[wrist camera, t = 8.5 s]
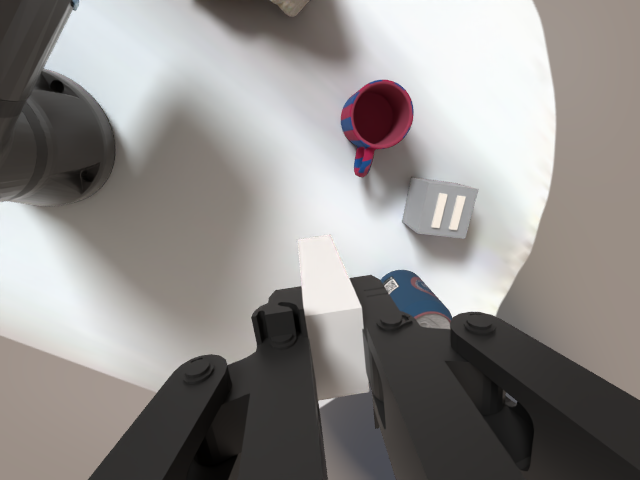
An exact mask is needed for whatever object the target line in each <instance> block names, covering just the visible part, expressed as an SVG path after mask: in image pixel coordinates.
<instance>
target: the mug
mask: <svg viewBox="0 0 640 480" xmlns="http://www.w3.org/2000/svg"><path fill="white" fill-rule="evenodd" d="M412 121H413V105H412V101H411V98H410V96H409V94H408V93H407V92H406V90H405V89H404V88H403V87H402V86H400V85H399V84H397V83H395V82H393V81H389V80H377V81H373V82H371V83H368V84H367V85H365V86H364V87H362V88H361V89H360V90H359V91H357V92H356V93H355V94H354V95H352V96H351V97H350V98H349V99H348V101H347V102H346V103H345V105H344V107H343V110H342V114H341V126H342V130H343V132H344V134H345V136H346V137H347V139H348V140H349V141H350V142H352V143H353V144H355V145H356V146H357V151H356V157H355V163H354V172H355V175H357V176H359V177H364V176H366V175H367V173H368V172H369V170H370V167H371V164H372V160H373V156H374V151H375V150H376V149H385V148H389V147H392V146H394V145H396V144H397V143H399V142H400V141H401V140H402V139H403V138H404V137H405V136H406V135H407V133H408V131H409V130H410V127H411V125H412Z"/></svg>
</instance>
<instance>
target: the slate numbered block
mask: <svg viewBox="0 0 640 480" xmlns="http://www.w3.org/2000/svg"><path fill="white" fill-rule="evenodd" d="M477 193H478V189H476V188H472V187H468V186H465V185H461V184H457V183H452V182H444V181H437V180H429V179H422V178H414V177H411V181H410V185H409V190H408V195H407V200H406V205H405V209H404V214H403V219H402V222H403V223H404V224H406V225H407V226H408V227H410V228H411V229H412V230H414V231H415V232H416V233H418V234H427V235H436V236H445V237H454V238H463V239H465V238H466V234H467V230H468V227H469V223H470V219H471V215H472V212H473V208H474V204H475V201H476V197H477Z"/></svg>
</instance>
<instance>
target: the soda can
mask: <svg viewBox="0 0 640 480" xmlns="http://www.w3.org/2000/svg"><path fill="white" fill-rule="evenodd" d="M381 282H382V284H383V285H384V287H385V288H386V290H387V291H388V294H389V295H390V296H391V298H392V299H393V301H394V302H395V304H396V306H397V307H398V309H399V310H400V311H402V312H405V313H407V314H410V315H411V316H412V317H414V318H415V319H416V320H417V322H418V323H419V325H420V326H422V327H427V328H440V329H450V322H451V320H452V316H451V313H450V312H449V310H448V309H447V308H446V307H445V305H444V304H443V303H442V302H441V301H440V300H439V299H438V298H437V297H436V296H435V294H434V293H433V292H432V291H431V290H430V289H429V288H428V287H427V286H426V284H425V283H424V282H423V281H422V280H421V279H420V278H419V277H418V276H417V275H416V274H415V273H413V272H411V271H407V270H396V271H392V272H390V273H388V274H386V275H385V276H384V277H383V278H382V279H381Z"/></svg>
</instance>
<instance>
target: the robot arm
mask: <svg viewBox="0 0 640 480" xmlns="http://www.w3.org/2000/svg"><path fill="white" fill-rule="evenodd" d="M78 6H79V0H0V202H3V201H10V202H16V203H23V204H29V205H36V206H60V205H65V204H69V203H73V202H76V201H80V200H83V199H85V198H87V197H89V196H91V195H92V194H94V193H95V192H96V191H98V190H99V189H100V188H101V187H102V186H103V185H104V183H105V182H106V180H107V179H108V177H109V175H110V173H111V171H112V168H113V164H114V158H115V143H114V137H113V133H112V129H111V126H110V124H109V121H108V119H107V117H106V115H105V114H104V112H103V110H102V109H101V107H100V106H99V104H98V103H97V102H96V101H95V99H94V98H93V97H92V96H91V95H90V94H89V93H88V92H87V91H86V90H85V89H84V88H82V87H81V86H80V85H78V84H77V83H76V82H74V81H73V80H71V79H69V78H67V77H66V76H64V75H61V74H59V73H57V72H54V71H51V70H47V69H44V66H45V64H46V62H47V60H48V58H49V56H50V54H51V52H52V50H53V48H54V46H55V44H56V42H57V40H58V38H59V36H60V34H61V32H62V30H63V28H64V26H65V24H66V22H67V20H68V18H69V16H70V14H71V12H72V10H75V11H76V9H77V8H78ZM298 251H299V262H300V274H301V285H302V286H301V287H294V288H287V289H281V290H275V291H274V293H273V294H272V295H271V296H270V297H269V302H268V303H267V304H265V305H263V306H260V307H259V308H258V309H257V310H255V311H254V313H253V315H252V317H251V318H252V323H253V327H254V332H255V337H256V342H257V350H256V352H255V353H253V354H252V355H250V356H249V357H247V358H244V359H242V360H240V361H237V362H235V363H232V364H229V365H227V363H226V359H224V358H223V357H221V356H219V355H212V354H211V355H203V356H199V357H197V358H193V359H191V360H189V361H187V362H186V363H184V364H182V365H181V366H180V367H179V368H178V369H177V370H176V371H174V372H173V374H172V375H171V376H170V377H169V379H168V380H167V381H166V382H165V384H164V385H163V386H162V387H161V389H160V390H159V391H158V392H157V394H156V395H155V396H154V398H153V399H152V400H151V401H150V402H149V404H148V405H147V406H146V407H145V409H144V410H143V411H142V412H141V414H140V415H139V416H138V418H137V419H136V420H135V421H134V422H133V424H132V425H131V426H130V428H129V429H128V430H127V431H126V432H125V434H124V435H123V436H122V438H121V439H120V440H119V441H118V443H117V444H116V445H115V447H114V448H113V449H112V450H111V451H110V453H109V454H108V455H107V456H106V458H105V459H104V460H103V461H102V463H101V464H100V465H99V466H98V468H97V469H96V470H95V471H94V473H93V474H92V475H91V477H90V478H89V479H88V480H328V477H327V469H326V461H325V453H324V444H323V435H322V426H321V418H320V411H319V404H318V400H324V399H330V398H336V397H342V396H348V395H354V394H360V393H365V392H369V383H370V386H371V389H372V396H373V408H374V419H375V428H379V426H380V430H381V433H382V436H383V439H384V442H385V446H386V449H387V452H388V455H389V459H390V461H391V465H392V468H393V471H394V475H395V478H396V480H640V400H638V399H637V398H635V397H633V396H631V395H630V394H628V393H626V392H625V391H623V390H621V389H620V388H618V387H616V386H614V385H613V384H611V383H609V382H607V381H606V380H604V379H602V378H601V377H599V376H597V375H596V374H594V373H592V372H590V371H589V370H587V369H585V368H584V367H582V366H580V365H578V364H577V363H575V362H573V361H571V360H570V359H568V358H566V357H565V356H563V355H561V354H560V353H558V352H556V351H554V350H553V349H551V348H549V347H547V346H546V345H544V344H542V343H541V342H539V341H537V340H536V339H534V338H532V337H530V336H529V335H527V334H525V333H524V332H522V331H520V330H518V329H517V328H515V327H513V326H512V325H510V324H508V323H506V322H505V321H503V320H501V319H499V318H497V317H495V316H492V315H490V314H485V313H481V312H467V313H461V314H458V315H457V316H455V317H453V318H452V320H451V322H450V329H440V328H427V327H422V326H420V325H419V323H418V322H417V320H416V319H415V318H414V317H412V316H411V315H410V314H407V313H405V312H402V311H400V310H399V309H398V307H397V306H396V304H395V302H394V301H393V299H392V298H391V296H390V295H389V294H388V291H387V290H386V288H385V287H384V285H383V284H382V282H381V280H379V279H377V278H376V277H374V276H372V275H367V276H361V277H354V278H349V276H348V274H347V272H346V269H345V267H344V265H343V262H342V260H341V258H340V255H339V253H338V251H337V248H336V246H335V244H334V241H333V239H332V237H331V235H324V236H317V237H310V238H303V239H298ZM368 380H369V382H368ZM506 392H507V393H508V394H509V395H510V396H512V397H513V398H514V399H515V400H517V403H514V402H513V401H511V400H510V399H509V398H508V397H506V396H505V394H506Z"/></svg>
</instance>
